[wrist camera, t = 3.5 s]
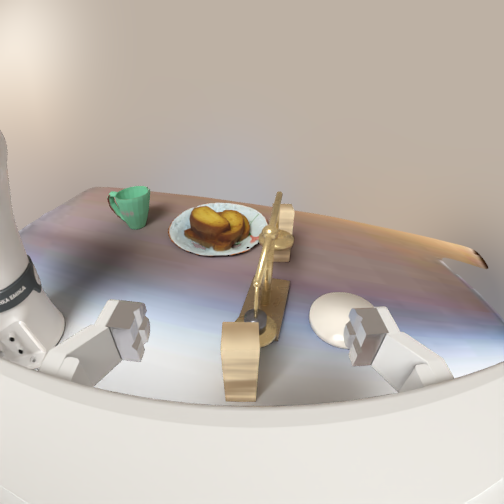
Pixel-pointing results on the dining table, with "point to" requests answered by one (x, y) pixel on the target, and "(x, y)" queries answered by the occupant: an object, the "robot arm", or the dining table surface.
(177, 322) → the dining table surface
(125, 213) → the mug
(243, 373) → the column
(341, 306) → the dish
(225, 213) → the food on plate
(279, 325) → the balance
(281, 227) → the column
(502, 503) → the robot arm
